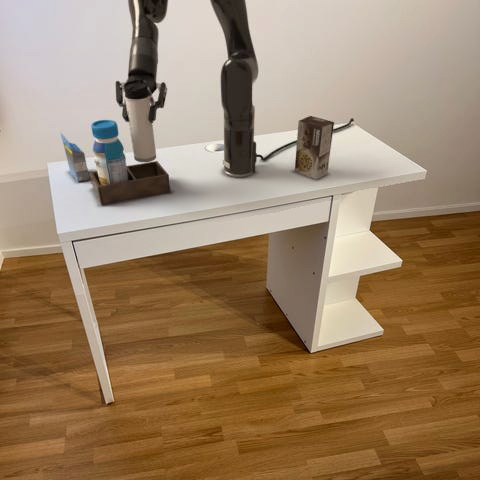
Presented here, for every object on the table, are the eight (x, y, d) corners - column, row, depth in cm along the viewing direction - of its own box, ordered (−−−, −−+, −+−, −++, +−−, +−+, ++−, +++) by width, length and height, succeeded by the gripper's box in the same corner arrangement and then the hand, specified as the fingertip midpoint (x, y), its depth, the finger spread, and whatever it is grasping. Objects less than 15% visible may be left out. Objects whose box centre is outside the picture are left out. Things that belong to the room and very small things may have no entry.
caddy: (159, 178, 143) (157, 160, 140) (170, 192, 136) (168, 174, 132) (93, 189, 137) (89, 171, 133) (101, 205, 129) (97, 187, 125)
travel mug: (158, 154, 134) (150, 79, 121) (153, 163, 129) (143, 86, 116) (138, 153, 135) (127, 78, 121) (131, 162, 130) (119, 85, 116)
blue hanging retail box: (90, 179, 142) (82, 139, 134) (77, 182, 140) (68, 141, 132) (81, 169, 147) (72, 130, 139) (69, 172, 146) (59, 132, 138)
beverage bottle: (127, 200, 131) (116, 129, 118) (98, 200, 131) (83, 128, 118) (133, 187, 138) (123, 118, 125) (105, 187, 138) (92, 118, 125)
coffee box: (328, 174, 147) (335, 121, 137) (316, 180, 144) (323, 127, 133) (305, 165, 152) (310, 114, 141) (293, 171, 148) (298, 119, 138)
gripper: (112, 51, 121) (107, 113, 120) (166, 53, 120) (161, 114, 119) (121, 69, 129) (117, 127, 128) (172, 70, 128) (168, 128, 127)
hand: (138, 120), depth 124 cm, fingers closed on travel mug, 6 cm apart
